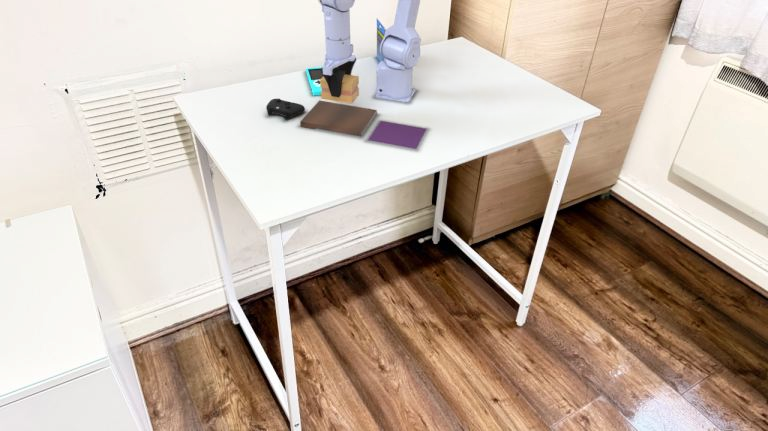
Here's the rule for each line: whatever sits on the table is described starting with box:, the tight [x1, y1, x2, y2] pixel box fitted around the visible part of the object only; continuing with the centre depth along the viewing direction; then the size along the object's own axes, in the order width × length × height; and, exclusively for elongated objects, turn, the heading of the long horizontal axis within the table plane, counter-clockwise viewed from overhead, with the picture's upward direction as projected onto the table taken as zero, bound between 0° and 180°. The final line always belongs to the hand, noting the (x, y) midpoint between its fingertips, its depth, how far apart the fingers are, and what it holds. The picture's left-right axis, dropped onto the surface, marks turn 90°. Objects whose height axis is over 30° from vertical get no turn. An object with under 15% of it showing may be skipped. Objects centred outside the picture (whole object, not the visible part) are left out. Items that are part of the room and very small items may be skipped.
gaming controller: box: [265, 98, 306, 121], centre depth 135 cm, size 10×5×6 cm
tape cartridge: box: [376, 18, 387, 62], centre depth 158 cm, size 9×4×12 cm, turn 17°
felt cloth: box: [367, 120, 427, 150], centre depth 128 cm, size 12×10×1 cm
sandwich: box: [320, 74, 360, 105], centre depth 127 cm, size 8×5×5 cm, turn 72°
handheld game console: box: [305, 66, 323, 96], centre depth 150 cm, size 10×16×1 cm, turn 14°
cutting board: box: [300, 100, 378, 138], centre depth 132 cm, size 16×12×2 cm
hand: (339, 91), depth 128 cm, fingers closed on sandwich, 5 cm apart
